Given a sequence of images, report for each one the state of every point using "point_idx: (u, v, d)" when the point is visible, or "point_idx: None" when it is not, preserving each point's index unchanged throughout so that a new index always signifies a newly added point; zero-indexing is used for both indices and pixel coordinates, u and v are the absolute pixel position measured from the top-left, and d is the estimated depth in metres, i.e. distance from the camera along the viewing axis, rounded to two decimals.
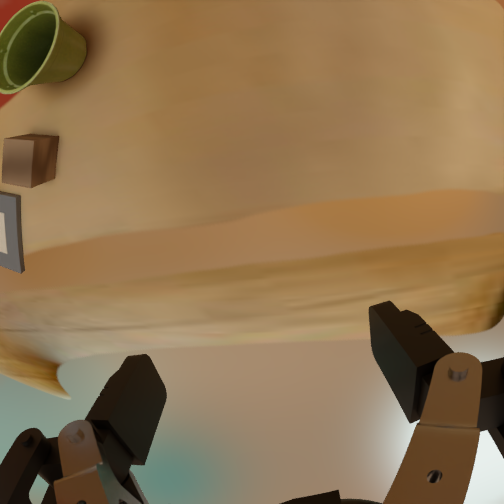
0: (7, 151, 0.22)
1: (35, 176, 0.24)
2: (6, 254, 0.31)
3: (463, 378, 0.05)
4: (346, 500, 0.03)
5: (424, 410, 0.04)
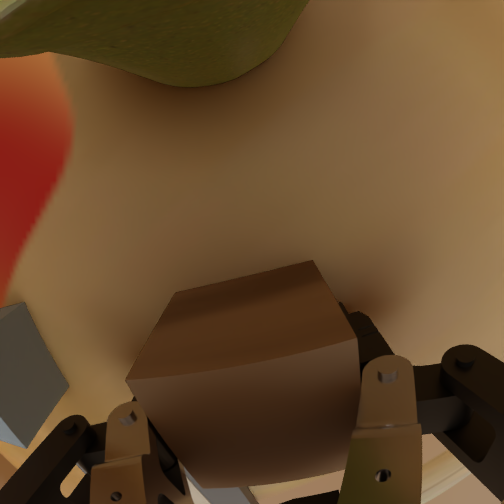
0: (177, 421, 0.06)
1: None
2: None
3: (390, 380, 0.05)
4: None
5: (359, 415, 0.05)
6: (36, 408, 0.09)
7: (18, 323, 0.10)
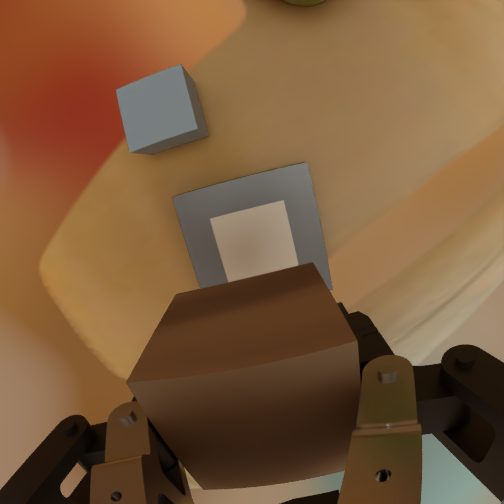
0: (178, 423, 0.06)
1: None
2: None
3: (390, 380, 0.05)
4: None
5: (359, 415, 0.05)
6: (200, 122, 0.20)
7: (194, 86, 0.21)
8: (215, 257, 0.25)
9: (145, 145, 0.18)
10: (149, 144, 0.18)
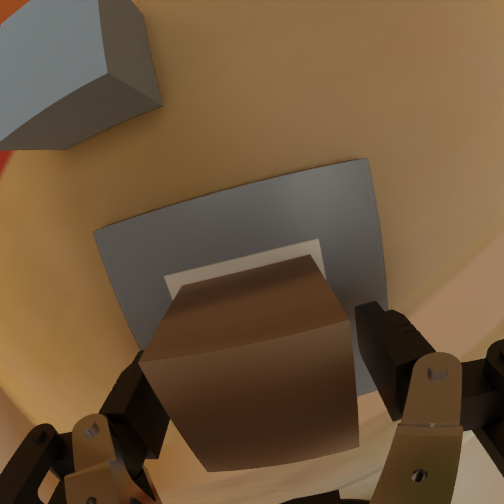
0: (185, 401, 0.07)
1: None
2: None
3: (442, 377, 0.05)
4: (346, 500, 0.03)
5: (405, 411, 0.05)
6: (132, 69, 0.08)
7: (136, 15, 0.08)
8: None
9: (10, 131, 0.06)
10: (16, 128, 0.06)
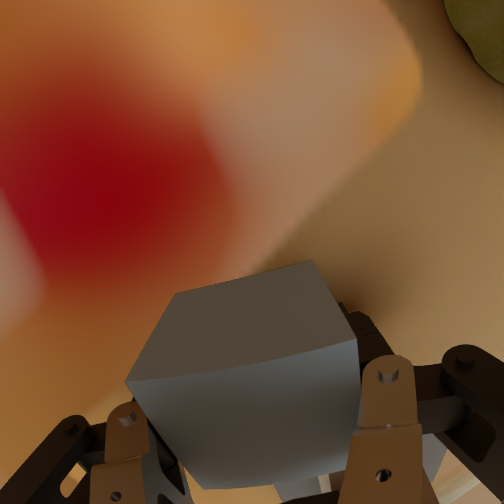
0: None
1: None
2: None
3: (390, 380, 0.05)
4: None
5: (359, 415, 0.05)
6: None
7: None
8: (314, 493, 0.13)
9: (240, 486, 0.07)
10: (249, 485, 0.07)
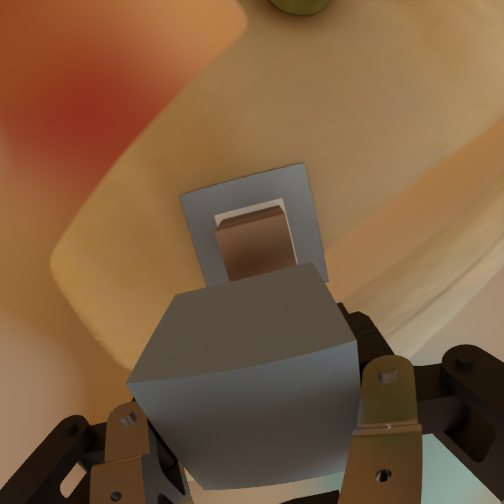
0: (230, 248, 0.21)
1: None
2: None
3: (390, 380, 0.05)
4: None
5: (359, 415, 0.05)
6: None
7: None
8: (219, 251, 0.26)
9: (240, 487, 0.07)
10: (249, 485, 0.07)
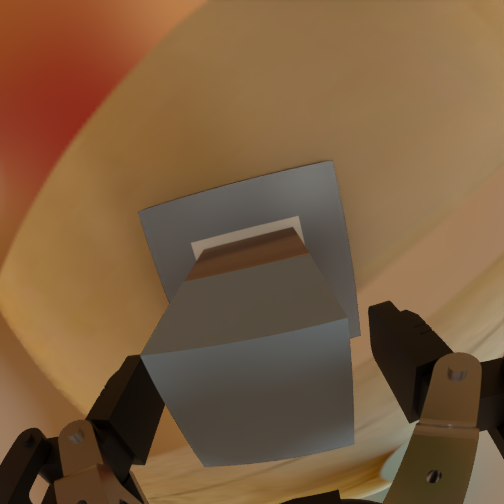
0: None
1: None
2: None
3: (462, 378, 0.05)
4: (346, 500, 0.03)
5: (424, 410, 0.04)
6: None
7: None
8: None
9: (239, 463, 0.08)
10: (248, 462, 0.08)
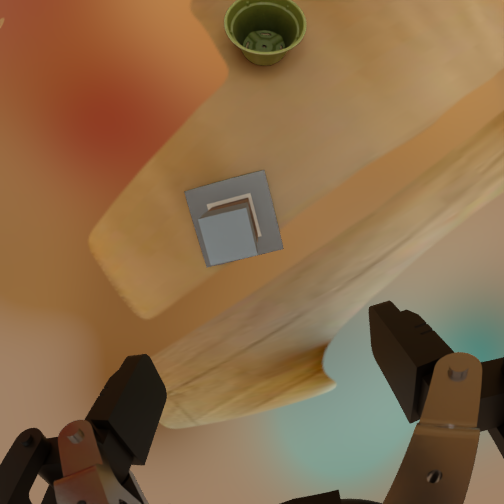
0: None
1: (255, 232, 0.36)
2: (259, 237, 0.41)
3: (463, 378, 0.05)
4: (346, 500, 0.03)
5: (424, 410, 0.04)
6: None
7: (248, 208, 0.33)
8: None
9: (222, 262, 0.31)
10: (224, 261, 0.31)
